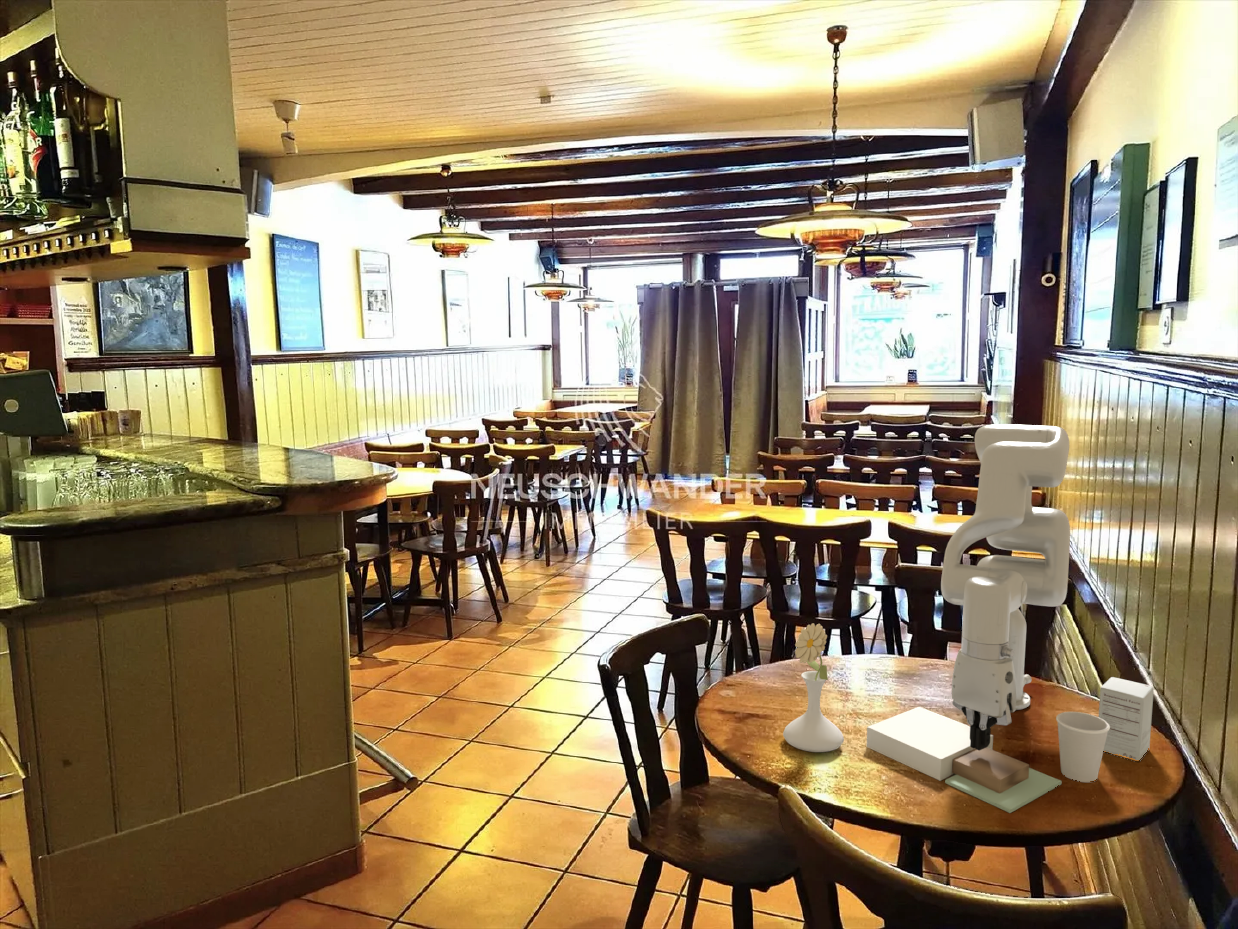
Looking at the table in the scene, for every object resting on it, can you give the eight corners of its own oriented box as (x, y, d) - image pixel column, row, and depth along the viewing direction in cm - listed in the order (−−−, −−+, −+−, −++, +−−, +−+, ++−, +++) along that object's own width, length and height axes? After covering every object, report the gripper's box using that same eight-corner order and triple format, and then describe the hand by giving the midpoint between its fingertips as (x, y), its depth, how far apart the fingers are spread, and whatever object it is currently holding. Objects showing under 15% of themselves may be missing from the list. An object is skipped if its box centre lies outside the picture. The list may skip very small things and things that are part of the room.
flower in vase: (779, 730, 169) (781, 609, 166) (837, 732, 169) (840, 610, 165) (788, 762, 156) (791, 631, 153) (851, 763, 156) (855, 632, 153)
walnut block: (981, 758, 156) (981, 745, 156) (1028, 778, 149) (1029, 764, 148) (952, 772, 151) (952, 759, 151) (999, 793, 144) (1000, 779, 143)
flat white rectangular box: (918, 725, 171) (919, 706, 171) (992, 755, 158) (993, 735, 158) (866, 746, 162) (867, 727, 162) (940, 780, 149) (941, 759, 149)
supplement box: (1106, 737, 165) (1111, 675, 164) (1150, 750, 160) (1155, 686, 158) (1094, 750, 160) (1099, 686, 159) (1139, 763, 155) (1144, 697, 153)
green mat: (997, 757, 157) (997, 754, 157) (1061, 784, 148) (1061, 781, 148) (945, 783, 148) (945, 780, 148) (1010, 813, 139) (1010, 809, 139)
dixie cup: (1087, 791, 145) (1091, 735, 144) (1042, 770, 153) (1045, 717, 151) (1116, 779, 149) (1120, 725, 148) (1071, 759, 157) (1075, 707, 155)
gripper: (1037, 655, 145) (1031, 757, 147) (959, 632, 157) (954, 726, 159) (1012, 665, 141) (1007, 769, 143) (934, 640, 153) (930, 737, 155)
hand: (979, 746), depth 151 cm, fingers closed
